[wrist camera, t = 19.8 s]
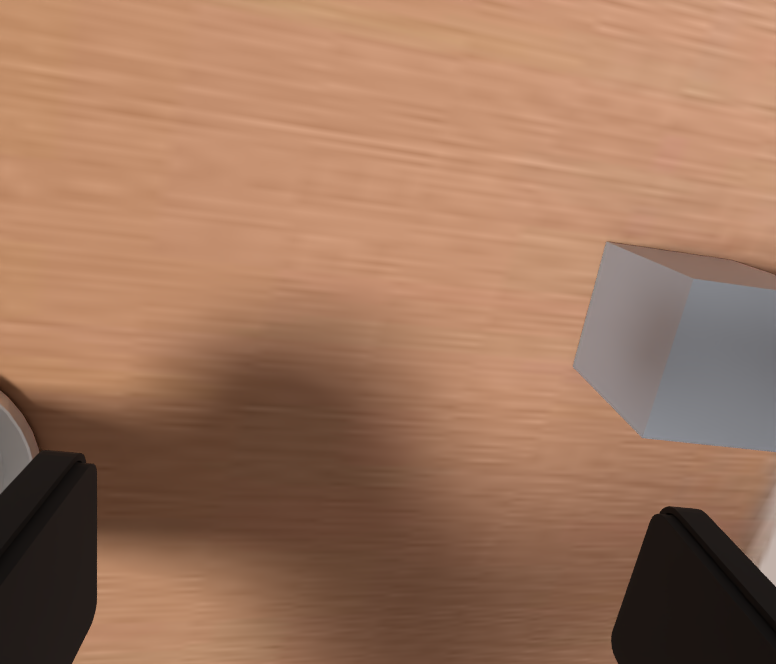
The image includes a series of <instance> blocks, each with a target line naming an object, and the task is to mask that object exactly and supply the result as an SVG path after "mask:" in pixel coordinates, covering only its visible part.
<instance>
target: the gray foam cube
mask: <svg viewBox="0 0 776 664" xmlns="http://www.w3.org/2000/svg"><path fill="white" fill-rule="evenodd" d="M573 367H574V369H575V370H576V371H577V372H578V373H579V374H580V375H581V376H582V377H583V378H584V379H585V380H586V381H587V382H588V383H589V384H590V385H591V386H592V387H593V388H594V389H595V390H596V391H597V392H598V393H599V394H600V395H601V396H602V397H603V398H604V399H605V400H606V401H607V402H608V403H609V404H610V405H611V406H612V407H613V408H614V409H615V410H616V412H617V413H618V414H619V415H620V416H621V417H622V418H623V419H624V420H625V421H626V422H627V423H628V424H629V425H630V426H631V427H632V428H633V429H634V430H635V431H636V432H637V433H638V434H639V435H640V436H641V437H642V438H647V439H657V440H666V441H676V442H685V443H695V444H704V445H714V446H723V447H733V448H742V449H752V450H761V451H771V452H776V275H774V274H771V273H768V272H765V271H763V270H760V269H757V268H754V267H751V266H748V265H745V264H742V263H739V262H736V261H733V260H728V259H722V258H715V257H708V256H701V255H694V254H687V253H681V252H674V251H667V250H660V249H653V248H647V247H640V246H633V245H626V244H619V243H613V242H606V245H605V249H604V253H603V256H602V260H601V264H600V267H599V271H598V275H597V278H596V282H595V286H594V290H593V293H592V297H591V301H590V304H589V308H588V312H587V316H586V319H585V323H584V327H583V330H582V334H581V338H580V342H579V345H578V349H577V353H576V356H575V360H574V364H573Z"/></svg>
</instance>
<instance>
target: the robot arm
mask: <svg viewBox="0 0 776 664" xmlns="http://www.w3.org/2000/svg"><path fill="white" fill-rule="evenodd" d="M96 604H97V469H96V466H95V465H94V464H89V463H86V460H85V457H84V455H83V454H82V453H73V452H62V451H50V450H42V451H41V452H39V449H38V446H37V443H36V440H35V437H34V434H33V431H32V430H31V428H30V426H29V424H28V423H27V421H26V419H25V417H24V416H23V414H22V413H21V412H20V411H19V409H18V408H17V407H16V406H15V405H14V403H13V402H12V401H11V400H10V399H9V398H8V397H7V396H6V395H5V394H4V393H3V392H1V391H0V664H72V662H73V660H74V658H75V656H76V654H77V652H78V650H79V648H80V646H81V644H82V642H83V640H84V638H85V636H86V634H87V632H88V630H89V628H90V626H91V624H92V621H93V618H94V614H95V610H96ZM611 643H612V650H613V653H614V656H615V658H616V660H617V662H618V664H776V587H775V586H774V585H773V584H772V582H771V581H770V580H769V579H768V578H767V577H766V576H765V575H764V574H763V573H762V572H761V571H760V570H759V569H758V568H757V567H756V566H755V565H754V564H753V562H752V561H751V560H750V559H749V558H748V557H747V556H746V555H745V554H744V553H743V552H742V551H741V550H740V549H739V548H738V547H737V546H736V545H735V544H734V542H733V541H732V540H731V539H730V538H729V537H728V536H727V535H726V534H725V533H724V532H723V531H722V530H721V529H720V528H719V527H718V526H717V525H716V524H715V522H714V521H713V520H712V519H711V518H710V517H709V516H708V515H707V514H706V513H705V512H703V511H702V510H699V509H692V508H681V507H670V506H668V507H665V508H663V509H662V510H661V511H660V513H659V514H656V515H654V516H653V517H652V519H651V521H650V523H649V526H648V529H647V532H646V535H645V538H644V541H643V544H642V547H641V550H640V552H639V555H638V558H637V561H636V564H635V567H634V570H633V573H632V576H631V579H630V582H629V585H628V587H627V590H626V593H625V596H624V599H623V602H622V605H621V608H620V611H619V614H618V617H617V620H616V622H615V625H614V628H613V631H612V636H611Z"/></svg>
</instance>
